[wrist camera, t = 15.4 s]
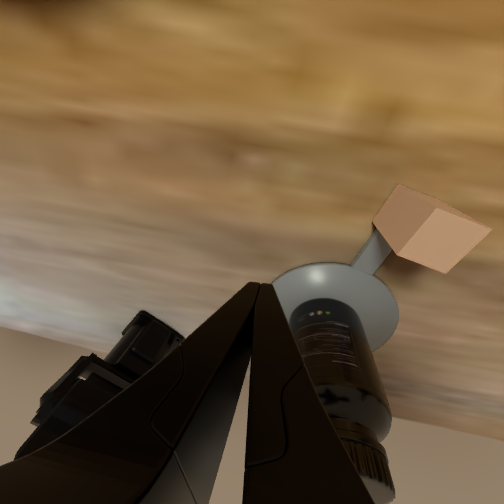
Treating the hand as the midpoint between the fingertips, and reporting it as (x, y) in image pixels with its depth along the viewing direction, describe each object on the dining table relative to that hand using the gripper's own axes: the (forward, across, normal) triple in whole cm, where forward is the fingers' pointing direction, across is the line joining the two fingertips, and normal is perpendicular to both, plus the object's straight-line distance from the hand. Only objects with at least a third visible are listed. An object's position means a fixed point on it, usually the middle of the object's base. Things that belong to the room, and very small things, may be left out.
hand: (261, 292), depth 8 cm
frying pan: (+11, -6, +9) cm, 15 cm away
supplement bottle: (+11, -5, +12) cm, 17 cm away
